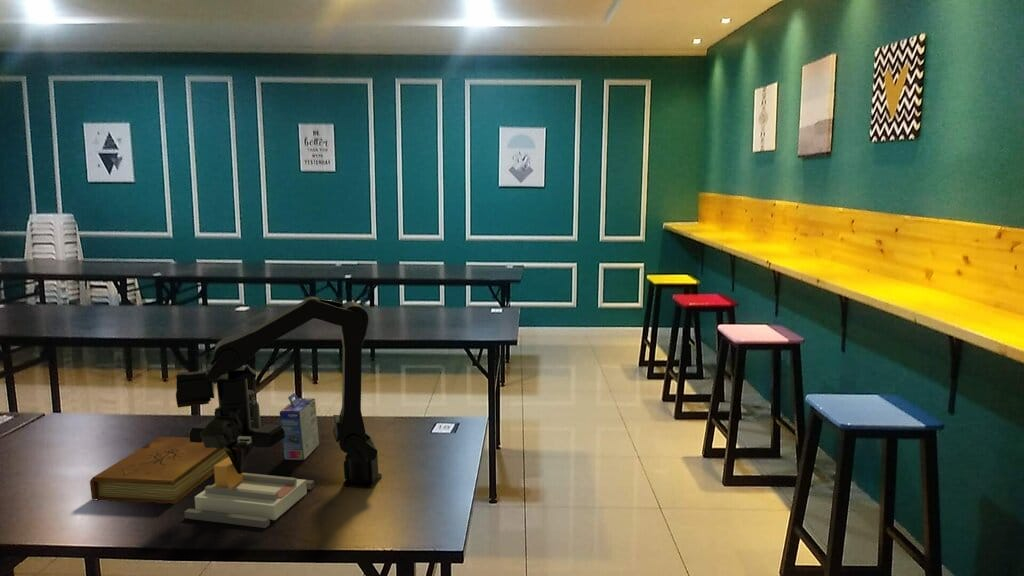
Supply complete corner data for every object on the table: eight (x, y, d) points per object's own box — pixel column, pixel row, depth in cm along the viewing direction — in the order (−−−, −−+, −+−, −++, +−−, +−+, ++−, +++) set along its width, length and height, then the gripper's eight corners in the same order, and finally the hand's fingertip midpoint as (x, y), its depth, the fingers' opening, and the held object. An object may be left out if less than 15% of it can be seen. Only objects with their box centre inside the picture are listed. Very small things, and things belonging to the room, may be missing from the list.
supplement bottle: (232, 435, 184) (228, 390, 182) (260, 430, 187) (256, 387, 185) (234, 444, 178) (230, 398, 176) (262, 439, 181) (259, 394, 179)
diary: (158, 459, 171) (156, 436, 170) (231, 461, 168) (230, 438, 168) (92, 502, 148) (89, 476, 147) (175, 505, 146) (173, 479, 145)
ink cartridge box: (298, 444, 177) (294, 388, 175) (319, 444, 177) (316, 389, 174) (282, 460, 168) (277, 401, 165) (304, 460, 167) (300, 401, 165)
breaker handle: (243, 480, 149) (241, 457, 148) (228, 490, 144) (226, 467, 143) (230, 478, 150) (229, 456, 149) (215, 488, 145) (213, 465, 144)
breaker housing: (306, 493, 150) (305, 474, 149) (275, 520, 138) (273, 500, 138) (232, 485, 154) (231, 467, 153) (195, 510, 143) (194, 491, 142)
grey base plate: (314, 486, 153) (314, 480, 153) (265, 528, 135) (265, 521, 135) (241, 479, 157) (241, 473, 157) (184, 518, 140) (184, 511, 139)
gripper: (166, 410, 138) (174, 486, 140) (250, 416, 133) (257, 493, 136) (203, 393, 149) (210, 464, 151) (283, 397, 144) (289, 470, 146)
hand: (240, 473), depth 146 cm, fingers closed
